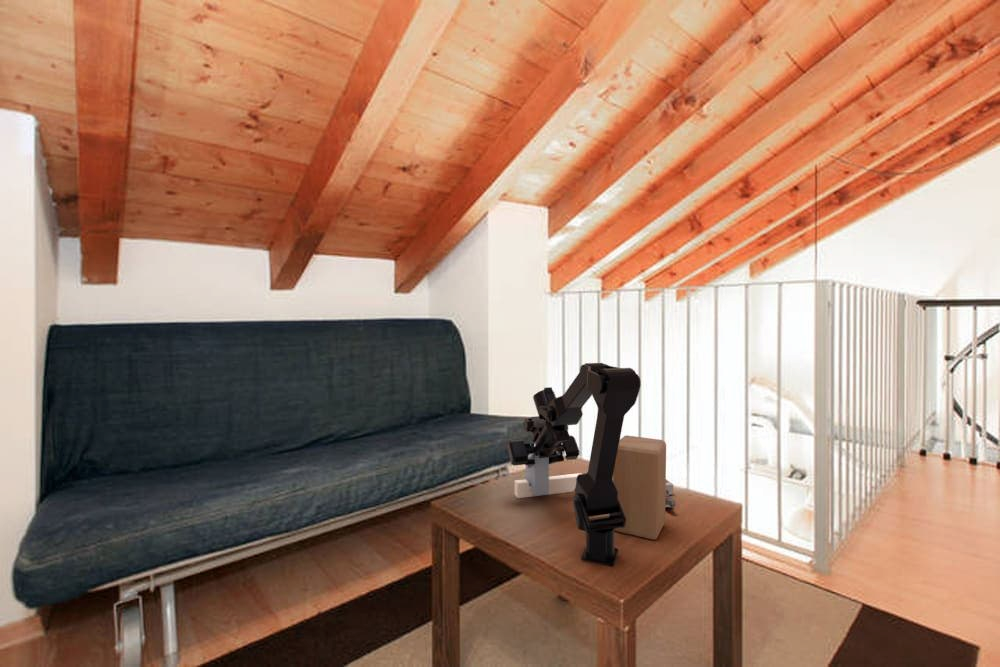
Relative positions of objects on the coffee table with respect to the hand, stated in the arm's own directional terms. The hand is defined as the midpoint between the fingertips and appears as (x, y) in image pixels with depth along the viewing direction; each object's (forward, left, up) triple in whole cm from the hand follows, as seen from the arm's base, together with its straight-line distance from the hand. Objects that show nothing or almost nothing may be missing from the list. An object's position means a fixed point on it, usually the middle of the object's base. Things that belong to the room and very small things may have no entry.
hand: (535, 465), depth 127 cm
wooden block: (-11, -29, -8) cm, 32 cm away
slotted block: (-1, -1, -7) cm, 7 cm away
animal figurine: (+4, -33, -8) cm, 34 cm away
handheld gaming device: (+16, -28, -8) cm, 33 cm away
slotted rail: (+2, -4, -8) cm, 9 cm away
